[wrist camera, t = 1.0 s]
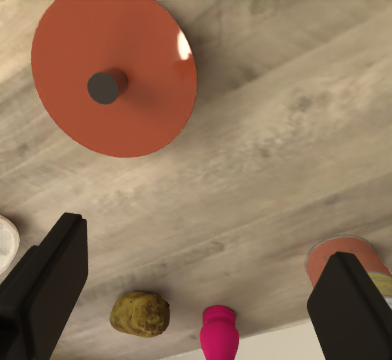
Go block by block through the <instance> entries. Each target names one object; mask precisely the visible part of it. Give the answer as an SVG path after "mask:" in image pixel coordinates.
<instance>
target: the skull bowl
mask: <svg viewBox="0 0 392 360" xmlns="http://www.w3.org/2000/svg"><path fill="white" fill-rule="evenodd" d="M19 242H20V237H19V233H18V230H17V228H16V227H15V225H14V224H13V223H12V222H10V221H9V220H8V219H7V218H5V217H3V216H1V215H0V274H2V273H3V272H4V271H5V270H6V269H7V268H8V266H9V265H10V264H11V262H12V260H13V259H14V257H15V255H16V253H17V251H18V248H19Z"/></svg>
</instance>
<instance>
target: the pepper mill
mask: <svg viewBox="0 0 392 360" xmlns="http://www.w3.org/2000/svg"><path fill="white" fill-rule="evenodd" d="M200 343H201V347H202V350H203V352H204V355H205V358H206V360H234V359H235V355H236V352H237V350H238V345H239V333H238V330H237V329H236V327H235V315H234V313H233V311H232V310H231V309H229V308H228V307H225V306H213V307H210V308H208V309H207V310H206V311H205V312H204V314H203V327H202V329H201V331H200Z"/></svg>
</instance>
